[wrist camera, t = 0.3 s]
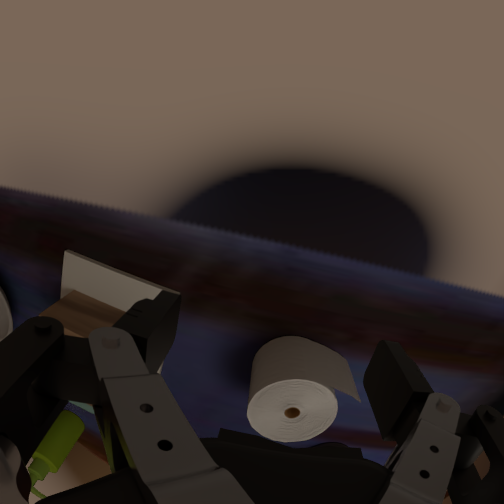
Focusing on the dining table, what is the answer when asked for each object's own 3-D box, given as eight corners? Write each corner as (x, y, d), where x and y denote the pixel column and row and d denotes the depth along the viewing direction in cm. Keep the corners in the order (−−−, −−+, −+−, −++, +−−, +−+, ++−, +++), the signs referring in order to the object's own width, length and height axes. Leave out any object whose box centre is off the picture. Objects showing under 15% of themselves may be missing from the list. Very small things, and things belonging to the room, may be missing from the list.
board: (68, 249, 41) (64, 251, 40) (180, 292, 42) (178, 295, 41) (63, 394, 49) (60, 397, 48) (148, 433, 49) (146, 437, 48)
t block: (74, 289, 42) (39, 314, 33) (152, 322, 42) (127, 356, 33) (70, 350, 45) (42, 379, 36) (141, 382, 45) (120, 419, 36)
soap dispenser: (79, 436, 52) (39, 501, 33) (56, 414, 51) (9, 476, 32) (93, 430, 51) (51, 501, 31) (68, 406, 50) (19, 474, 30)
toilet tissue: (236, 365, 44) (227, 411, 34) (300, 313, 41) (308, 355, 32) (286, 405, 45) (287, 452, 36) (348, 361, 43) (364, 405, 33)
